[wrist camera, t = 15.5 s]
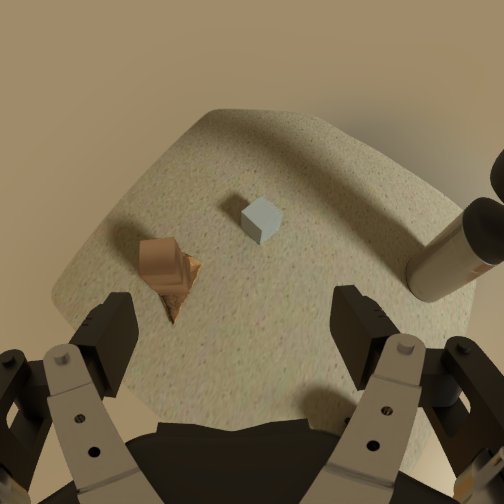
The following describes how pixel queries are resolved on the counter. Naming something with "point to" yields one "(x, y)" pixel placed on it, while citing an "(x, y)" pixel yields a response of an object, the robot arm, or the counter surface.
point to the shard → (176, 301)
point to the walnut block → (164, 266)
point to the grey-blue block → (261, 219)
